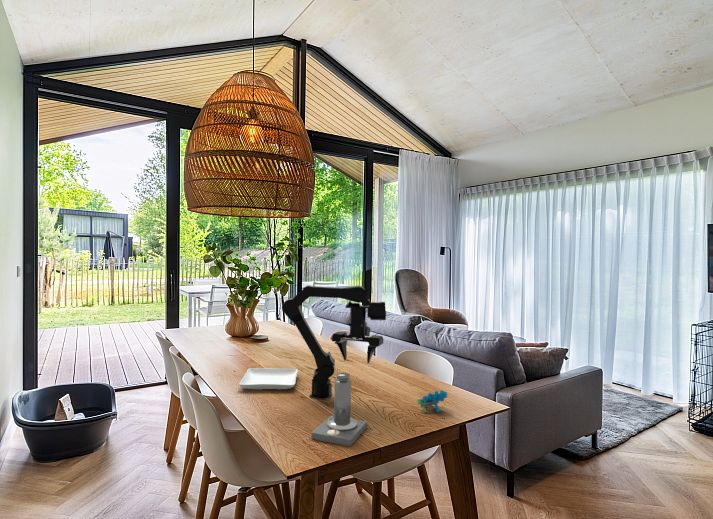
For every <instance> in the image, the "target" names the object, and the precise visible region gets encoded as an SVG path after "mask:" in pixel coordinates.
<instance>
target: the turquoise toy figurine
mask: <svg viewBox="0 0 713 519" xmlns="http://www.w3.org/2000/svg"><path fill="white" fill-rule="evenodd" d="M448 395H449V394H448V392H447V391H444V390H439V391H438V390H435V391H434V392H433V393H432V392H428V393H427V395H423V396H422V397H421V399H420V398H418V399H417V400H416V401H417V405H420V408H422V409H423V413H424V414H426V413H427V410H426V409H427V408H426V407H431V406H434V408H435V410H436V412H437V414H439V413H440V412H441V411H440V408H439V405H438V404H440V402H444V401H445V399H446V398H448Z"/></svg>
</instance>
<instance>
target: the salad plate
mask: <svg viewBox="0 0 713 519" xmlns="http://www.w3.org/2000/svg"><path fill="white" fill-rule="evenodd" d="M298 372H299V370H298V369H297V368H276V367H274V368H271V367H270V368H266V367H264V368H258V367H257V368H256V367H255V368H250V367H249V368H248V369H247V371H246V372H245V374H244V376H243V377H242V379H241V380H240V381H239V383H238V386H240V387H241V388H242V389H244V390H245V389H246V390H262V389H277V390H289V389H292V388H293V387H295V385H296V382H297V381H296V380H297V375H298Z"/></svg>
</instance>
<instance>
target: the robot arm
mask: <svg viewBox="0 0 713 519" xmlns="http://www.w3.org/2000/svg"><path fill="white" fill-rule="evenodd" d="M310 297H315V298H330V299H331V298H333V299H343V300H346V301H348V302H347V304H345V308H346V309H349V310H350V314H349V319H350V320H349V322H348V326H349V333H347V332H345V331H336V332H334V333H332V334H331V342H334V344H335V345H337V348H338V349H339V351H340V353H341V355H342V358H343V361H347V357H348V355H347V354H348V352H347V349H348V348H347V345H348V341H354V342H361V343H362V342H363V343H368V345H367V354H366V355H367V358H366V361H367V364H370V362H371V360H372V357H373V354H374V352H375V350H376V348H378V347H380V346H381V345H383V344H384V337H383V336H382V335H375V334H373V335H371V334H370V333H371V327H369V326H368V325H367V321H366V319H367V318H369V320H370V321H386V319H387V310H386V302H385V301H376V302H375V301H374V302H373V301H371V298H368V297H367V291H366V289H365V288H364V287H363V286H361V285H351V286H345V287H334V286H316V285H308V284H307V285H306V286H304V287H303V289H302V290H301V291H300V292H298V293H297V294H296V295H295V296H294V297H289V298H287V299H286V300H285V301H284V302H283V304H282V307H281V308H282V311H283V313H284V314H285V316H286V317H287V318H288V319H289V320H290V321H291V322H292V323H293V324H294V325H295V326H296V328H297V331H298V332H299V333H300V335H301V337H302V339H303V340H304V342H305V344H306V346H307V347H308V349H309V350H310V352H311V354H312V356H313V358H314V361H315V366H316V367H317V368H315V369H314V371H313V375H312V379H311V394H310V395H309V397H310V398H315V399H321V400H326V399H328V398H329V397H330V396H332V395H333V393H332V392H333V391H332V387H333V385H332V382H331V377H332V376H333V375H334V373H335V368H336V365H335V364H336V363H335V362H336V360H335V358H333V356H332V354H331V351H330V350H329V351H328V352H326V351H325V350H324V349H323V348H322V346H321V344H320V341H318V339H317V337H316V336H315V333H314V331H312V329H311V327H310V326H309V324H308V322H307V320H306V318H305V316H304V312H303V309H302V304H303V303H305V301H306V300H308V299H309V298H310ZM360 303H361V304H362V305H361V304H360ZM366 316H367V318H366ZM370 335H371V336H370Z"/></svg>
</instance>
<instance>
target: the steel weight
mask: <svg viewBox="0 0 713 519" xmlns="http://www.w3.org/2000/svg"><path fill="white" fill-rule="evenodd" d="M336 374H337V375H336V379H335V380H334V396H333V397H334V400H333V404H334V405H333V416H334V424H336V425H340V426H344V425H348V424H350V418H352V417H351V411H352V409H351V408H352V380H351V379H350V373H348V372H339V373H336Z"/></svg>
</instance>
